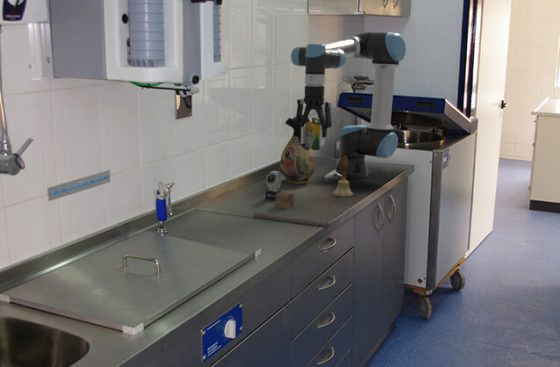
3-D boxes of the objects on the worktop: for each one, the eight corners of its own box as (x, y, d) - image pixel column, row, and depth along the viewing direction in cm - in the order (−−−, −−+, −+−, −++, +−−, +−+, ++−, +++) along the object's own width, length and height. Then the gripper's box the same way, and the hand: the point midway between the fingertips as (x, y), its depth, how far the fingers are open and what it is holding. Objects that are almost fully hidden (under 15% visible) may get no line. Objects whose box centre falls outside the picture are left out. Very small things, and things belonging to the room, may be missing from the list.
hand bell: (341, 190, 277) (343, 153, 273) (357, 194, 271) (359, 156, 268) (328, 193, 271) (330, 155, 268) (344, 197, 266) (345, 158, 262)
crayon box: (304, 147, 260) (305, 117, 257) (311, 146, 261) (312, 117, 259) (313, 150, 254) (314, 120, 251) (320, 149, 255) (321, 120, 252)
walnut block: (282, 203, 255) (282, 191, 253) (293, 206, 252) (294, 193, 251) (275, 206, 250) (275, 193, 249) (286, 208, 248) (287, 196, 247)
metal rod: (256, 216, 238) (256, 211, 237) (328, 226, 228) (328, 221, 228) (254, 218, 236) (254, 212, 236) (326, 228, 226) (327, 222, 226)
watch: (263, 199, 259) (263, 172, 257) (272, 195, 266) (273, 168, 264) (275, 201, 257) (276, 174, 254) (284, 197, 264) (285, 170, 261)
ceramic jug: (272, 181, 289) (273, 113, 282) (294, 176, 301) (296, 110, 294) (302, 188, 279) (304, 117, 272) (324, 182, 290) (327, 114, 283)
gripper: (286, 84, 254) (285, 142, 259) (334, 87, 244) (331, 148, 249) (296, 82, 260) (294, 140, 265) (343, 86, 250) (340, 145, 255)
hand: (312, 144), depth 257 cm, fingers closed on crayon box, 7 cm apart
